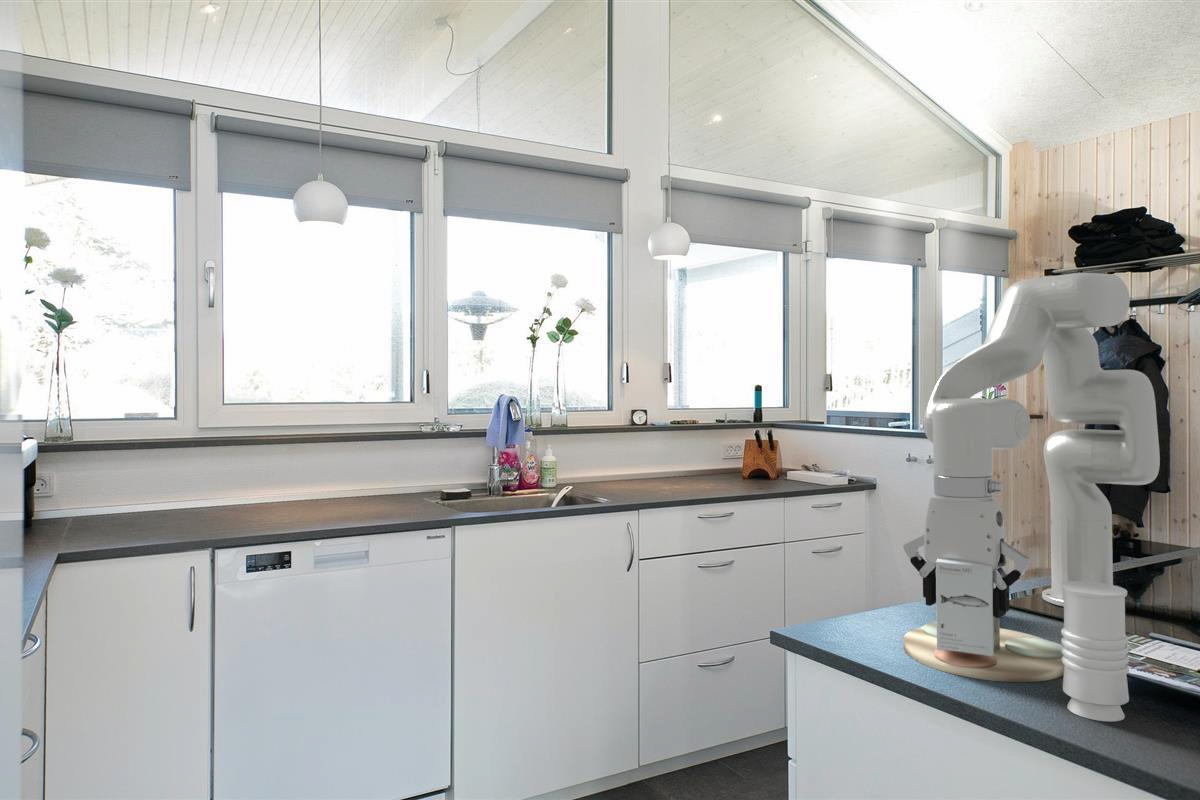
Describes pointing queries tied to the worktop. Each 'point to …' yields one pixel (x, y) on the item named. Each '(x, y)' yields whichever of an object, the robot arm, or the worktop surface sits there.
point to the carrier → (1010, 662)
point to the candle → (1095, 650)
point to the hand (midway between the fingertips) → (965, 609)
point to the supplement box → (964, 607)
